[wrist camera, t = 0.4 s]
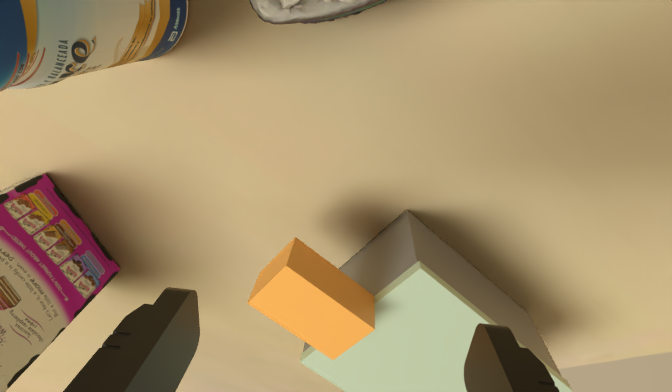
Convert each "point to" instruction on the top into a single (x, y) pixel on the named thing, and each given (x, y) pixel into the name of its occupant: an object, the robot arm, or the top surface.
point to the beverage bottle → (82, 36)
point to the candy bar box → (43, 271)
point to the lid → (373, 325)
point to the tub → (425, 246)
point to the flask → (308, 10)
